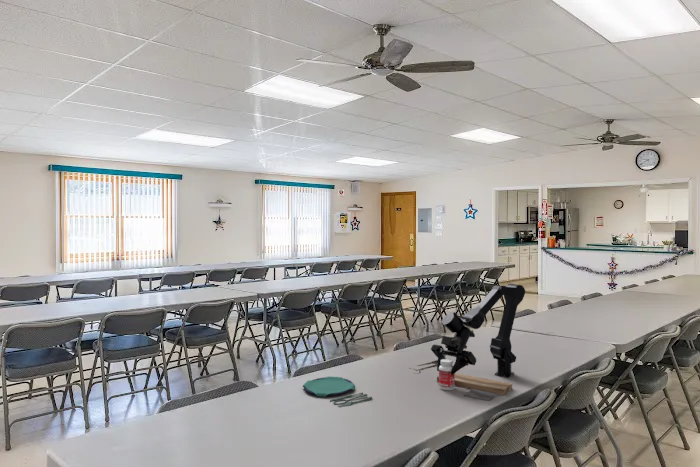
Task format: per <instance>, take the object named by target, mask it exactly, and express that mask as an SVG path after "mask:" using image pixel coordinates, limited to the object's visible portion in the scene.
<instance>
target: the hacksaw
mask: <svg viewBox="0 0 700 467" xmlns="http://www.w3.org/2000/svg"><path fill="white" fill-rule="evenodd" d="M431 364H432V365H431ZM437 364H438V359H437V360H432V361H431V362H426V363H422V364H419V365H418V364H417V365H416V367H422V366H425V365H428V366H425V367H422V368H420V369H416V368H413V370H415V372H413V374H415V375H416V374H417V375H418V374H421V373H422V372H421V371H423V370H425V369H431V368H434V367H437ZM429 365H430V366H429ZM408 369H410V370H412V368H411V367H408ZM416 372H419V373H416Z"/></svg>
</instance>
